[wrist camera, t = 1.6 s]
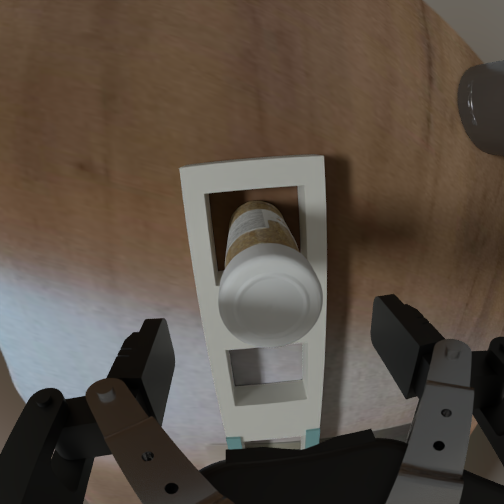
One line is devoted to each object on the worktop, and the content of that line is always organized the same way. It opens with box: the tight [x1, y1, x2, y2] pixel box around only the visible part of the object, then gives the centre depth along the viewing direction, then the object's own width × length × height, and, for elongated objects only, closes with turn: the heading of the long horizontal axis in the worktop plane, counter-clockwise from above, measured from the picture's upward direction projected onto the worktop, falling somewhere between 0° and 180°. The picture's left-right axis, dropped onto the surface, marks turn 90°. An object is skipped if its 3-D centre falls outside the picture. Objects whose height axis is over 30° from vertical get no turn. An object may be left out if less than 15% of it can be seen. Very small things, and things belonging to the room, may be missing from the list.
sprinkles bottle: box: [218, 201, 323, 348], centre depth 20 cm, size 5×5×13 cm
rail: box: [179, 154, 327, 450], centre depth 29 cm, size 10×37×3 cm, turn 5°
